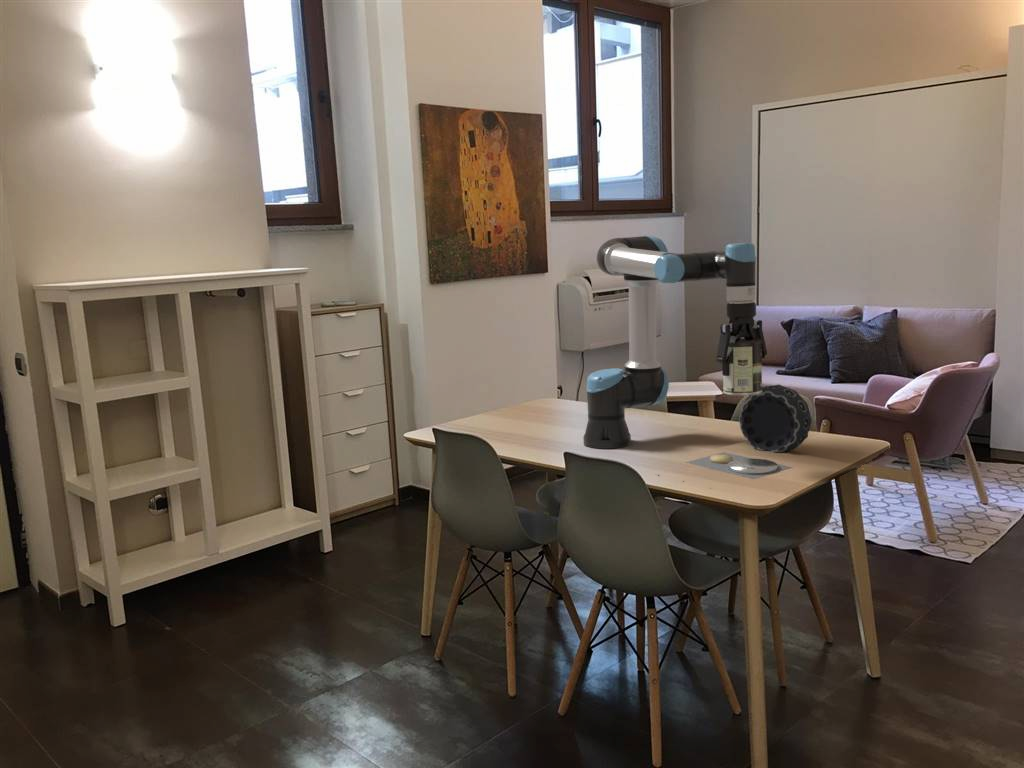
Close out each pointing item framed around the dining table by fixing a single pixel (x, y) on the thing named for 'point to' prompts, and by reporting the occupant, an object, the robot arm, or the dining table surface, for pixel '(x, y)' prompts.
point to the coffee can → (746, 368)
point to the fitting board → (722, 461)
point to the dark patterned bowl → (775, 419)
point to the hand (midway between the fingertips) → (742, 384)
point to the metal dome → (752, 466)
